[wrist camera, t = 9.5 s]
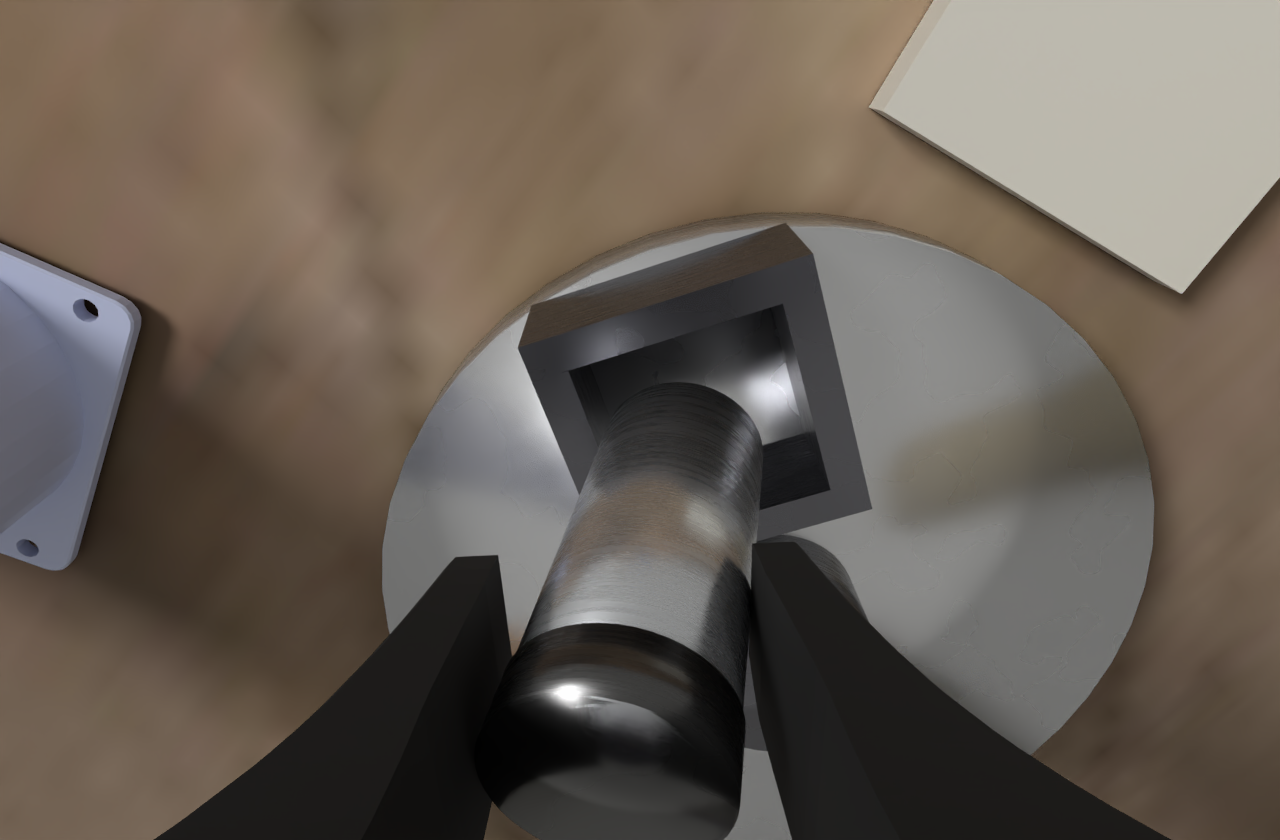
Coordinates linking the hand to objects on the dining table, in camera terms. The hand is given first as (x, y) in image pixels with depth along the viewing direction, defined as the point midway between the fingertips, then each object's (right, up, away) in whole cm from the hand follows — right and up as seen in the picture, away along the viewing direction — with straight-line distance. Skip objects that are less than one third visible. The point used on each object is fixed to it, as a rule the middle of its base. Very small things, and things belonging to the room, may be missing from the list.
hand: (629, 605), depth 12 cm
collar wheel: (+3, -1, +10) cm, 11 cm away
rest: (+10, +11, +4) cm, 16 cm away
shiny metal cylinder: (+1, +2, +3) cm, 4 cm away
